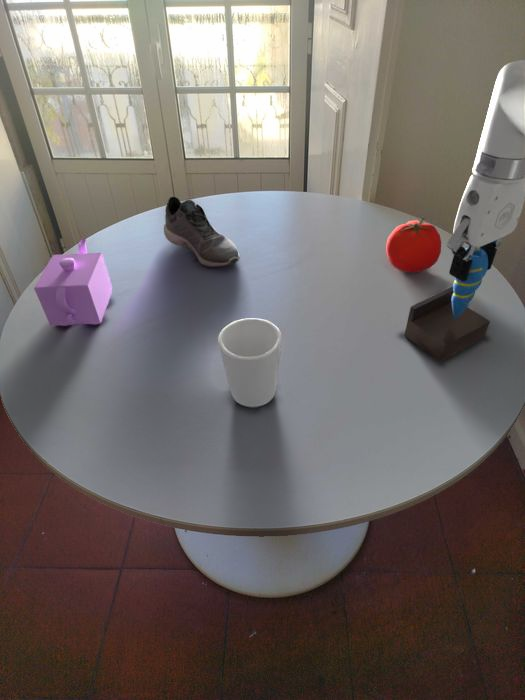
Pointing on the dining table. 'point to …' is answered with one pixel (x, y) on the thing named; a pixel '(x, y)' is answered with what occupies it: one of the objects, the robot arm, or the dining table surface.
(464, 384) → the dining table surface
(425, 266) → the tomato
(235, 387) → the cup
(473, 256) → the ornament
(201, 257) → the athletic shoe
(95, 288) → the teapot
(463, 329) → the shelf
